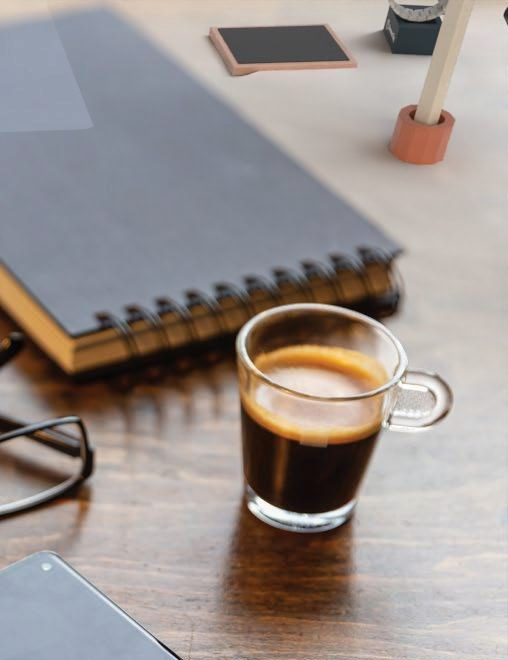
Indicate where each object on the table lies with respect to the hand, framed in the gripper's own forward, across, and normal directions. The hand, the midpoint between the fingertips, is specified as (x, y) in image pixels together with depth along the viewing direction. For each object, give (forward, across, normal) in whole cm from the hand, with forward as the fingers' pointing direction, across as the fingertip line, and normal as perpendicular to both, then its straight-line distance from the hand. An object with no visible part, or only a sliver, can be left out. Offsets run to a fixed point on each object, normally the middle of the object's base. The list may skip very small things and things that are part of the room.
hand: (463, 3), depth 102 cm
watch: (-2, -16, +23) cm, 29 cm away
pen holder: (+11, 0, +10) cm, 15 cm away
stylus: (+10, 0, +10) cm, 14 cm away
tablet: (+6, -22, +15) cm, 27 cm away
